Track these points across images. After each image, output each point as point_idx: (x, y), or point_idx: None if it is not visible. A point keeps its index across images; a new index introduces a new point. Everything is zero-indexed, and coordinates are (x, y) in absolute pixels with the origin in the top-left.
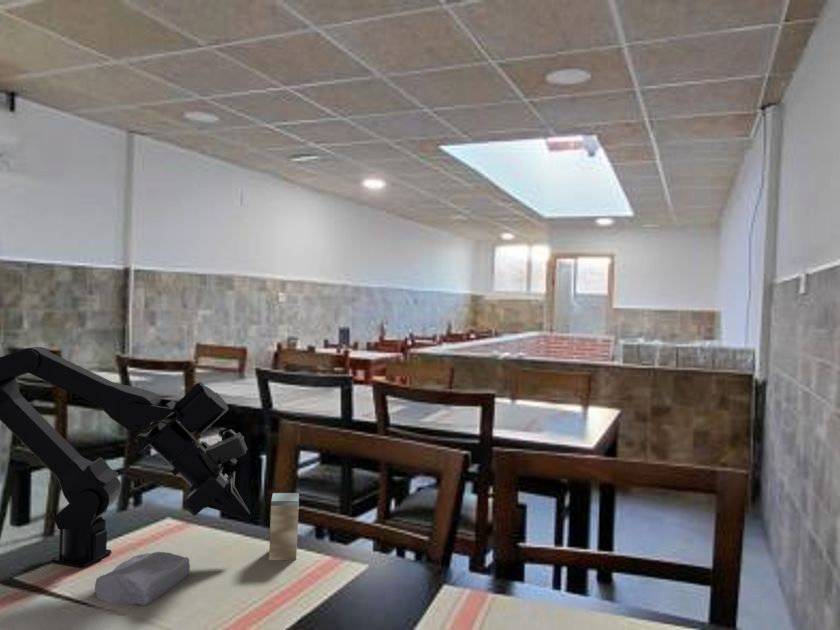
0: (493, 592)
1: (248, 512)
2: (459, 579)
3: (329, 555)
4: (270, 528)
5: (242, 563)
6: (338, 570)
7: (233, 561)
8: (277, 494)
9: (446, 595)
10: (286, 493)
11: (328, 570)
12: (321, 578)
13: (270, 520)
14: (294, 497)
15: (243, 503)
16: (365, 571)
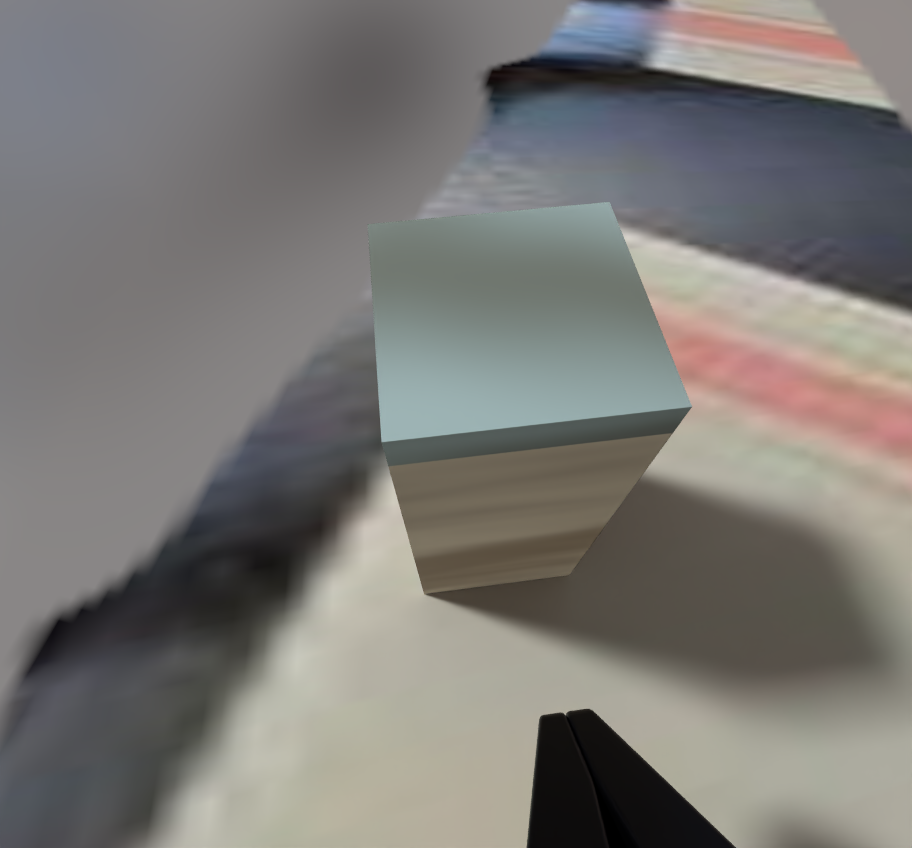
0: (665, 3)
1: (598, 722)
2: (607, 43)
3: None
4: (611, 513)
5: (644, 725)
6: None
7: None
8: (431, 386)
9: (715, 65)
10: (387, 313)
11: None
12: (710, 331)
13: (627, 492)
14: (515, 237)
15: (596, 819)
16: None
